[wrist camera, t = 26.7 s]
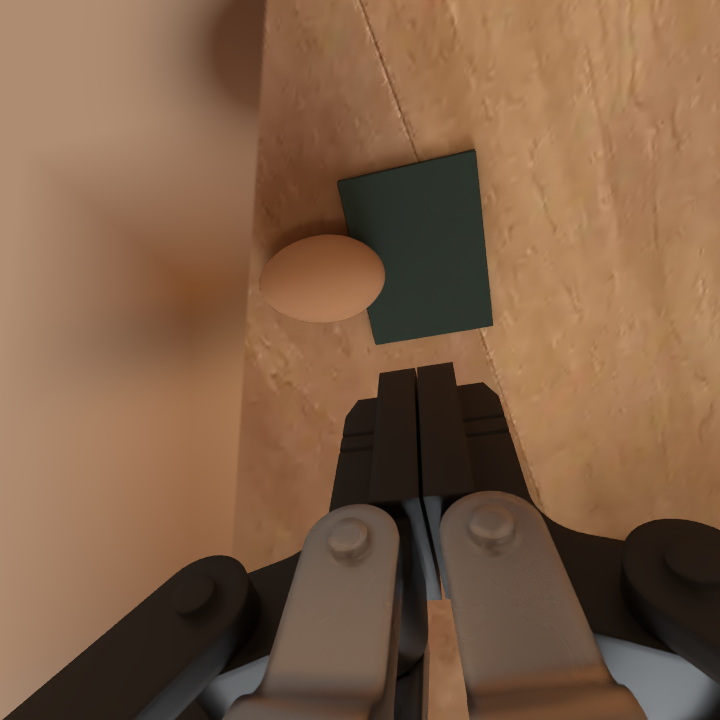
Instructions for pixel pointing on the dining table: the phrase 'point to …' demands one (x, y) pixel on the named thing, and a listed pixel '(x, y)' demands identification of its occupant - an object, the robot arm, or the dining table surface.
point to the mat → (423, 246)
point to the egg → (322, 278)
